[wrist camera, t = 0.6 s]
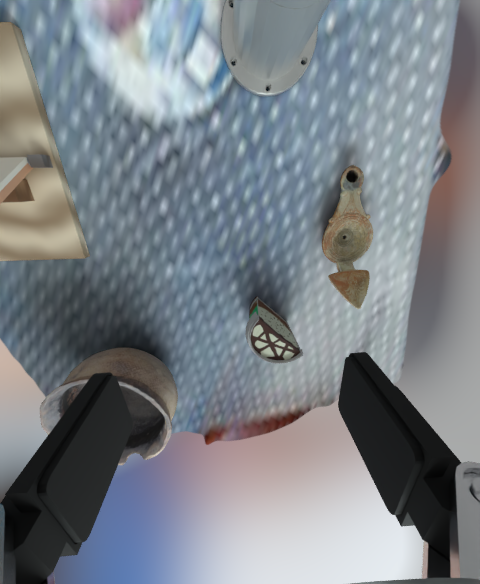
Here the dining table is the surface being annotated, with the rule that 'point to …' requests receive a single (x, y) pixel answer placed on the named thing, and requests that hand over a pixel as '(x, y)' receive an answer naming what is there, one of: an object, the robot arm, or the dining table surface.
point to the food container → (270, 335)
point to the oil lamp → (349, 239)
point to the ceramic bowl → (137, 393)
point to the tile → (12, 174)
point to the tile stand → (43, 159)
